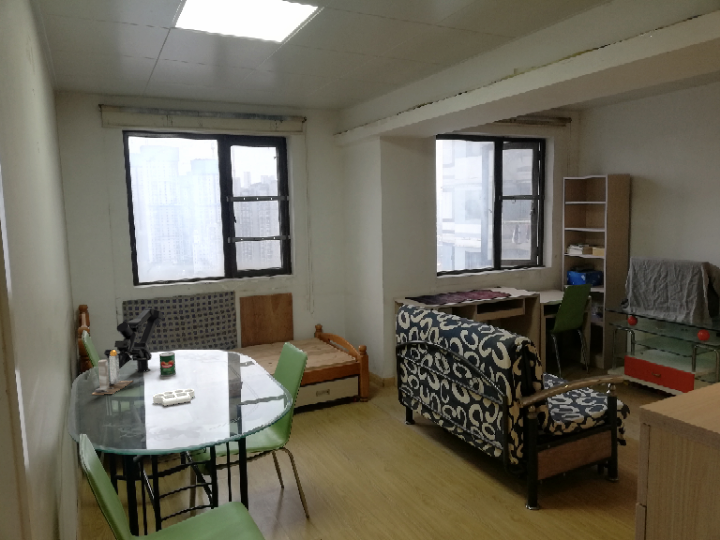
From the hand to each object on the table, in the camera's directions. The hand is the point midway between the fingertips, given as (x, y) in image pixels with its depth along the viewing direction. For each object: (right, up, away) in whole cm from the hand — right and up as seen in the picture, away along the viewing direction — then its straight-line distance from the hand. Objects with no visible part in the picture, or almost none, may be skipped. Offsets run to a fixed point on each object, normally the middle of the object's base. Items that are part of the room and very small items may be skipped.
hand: (118, 368), depth 266 cm
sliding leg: (-1, -7, -3) cm, 8 cm away
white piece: (+38, -10, -26) cm, 47 cm away
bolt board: (0, -9, -6) cm, 10 cm away
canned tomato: (+18, -6, +18) cm, 27 cm away
